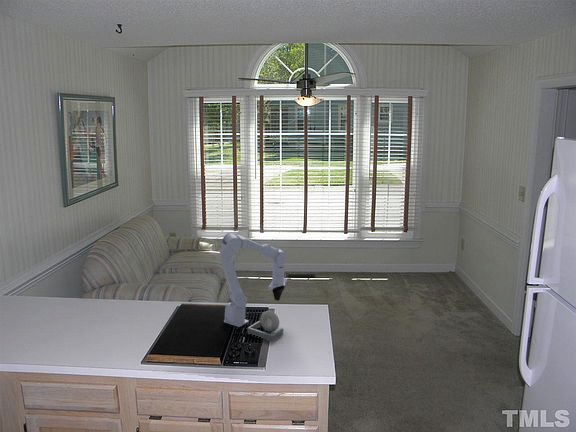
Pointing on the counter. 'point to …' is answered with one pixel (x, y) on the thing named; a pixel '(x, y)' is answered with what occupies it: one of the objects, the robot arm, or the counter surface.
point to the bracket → (264, 335)
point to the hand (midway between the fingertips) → (277, 299)
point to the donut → (265, 323)
